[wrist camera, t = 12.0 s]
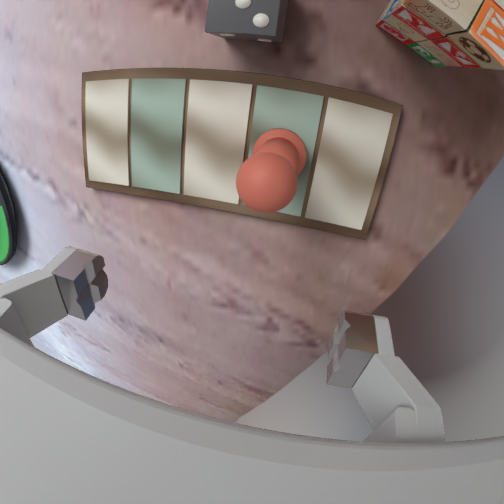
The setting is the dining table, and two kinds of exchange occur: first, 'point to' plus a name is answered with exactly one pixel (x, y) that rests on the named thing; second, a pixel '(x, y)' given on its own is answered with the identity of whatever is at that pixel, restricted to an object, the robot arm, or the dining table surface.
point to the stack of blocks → (449, 30)
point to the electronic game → (6, 224)
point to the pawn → (271, 171)
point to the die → (247, 19)
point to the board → (236, 140)
